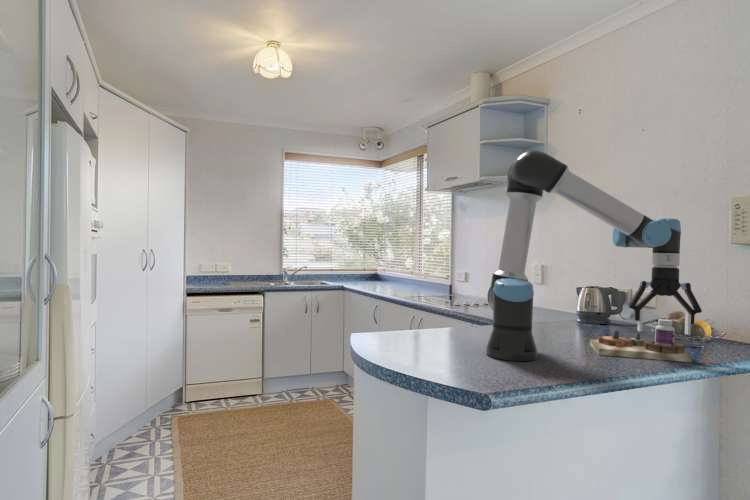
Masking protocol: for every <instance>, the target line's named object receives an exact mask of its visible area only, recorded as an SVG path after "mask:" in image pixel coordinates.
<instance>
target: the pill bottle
mask: <svg viewBox="0 0 750 500" xmlns="http://www.w3.org/2000/svg"><path fill="white" fill-rule="evenodd" d="M657 323H658V325H656V326H655V329H654V340H655V344H658V345H664V346H674V343H675V337H676V336H675V333H676V331H675V327H674V326H673V320H672V319H664V318H659V319H658V320H657Z"/></svg>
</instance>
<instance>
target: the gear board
mask: <svg viewBox="0 0 750 500" xmlns="http://www.w3.org/2000/svg"><path fill="white" fill-rule="evenodd" d="M619 333H620V331H619V330H617V329H616V330H614V329H613V330H612V335H608V336H606V335H599V336H598V337H597V338H598V339H592V338H591V339H590V340H589V345H590V347H591V348H592V349H593V350H594V352H596V353H597V354H598V355H599V356H610V357H620V358H621V357H623V358H633V359H634V358H635V359H645V360H659V361H670V362H671V361H673V362H681V363H683V362H684V363H693V355H692V354H690V353H688V352H686V351H685V350H686V349H685V347H686V346H685V345H683V344H681V343H677V342H674V346H664V345H658V344H655V339H651V340H647V339H646V338H641V334H640V333H635V335H634V337H625V336H624V337H623V336H621V337H620V336H619Z"/></svg>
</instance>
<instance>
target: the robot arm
mask: <svg viewBox="0 0 750 500" xmlns="http://www.w3.org/2000/svg"><path fill="white" fill-rule="evenodd" d="M506 178H507V185H506V186H507V187H506V197H508V199H509V203H508V210H507V216H506V222H505V226H504V227H505V228H504V233H503V237H502V239H503V240H502V244H501V245H502V246H501V249H500V250H501V251H500V257H499V263H498V268H497V269H496V270H495V271H493V273H492V276H491V282H490V287H489V288H488V291H487V302H488V305H489V307H490V309H491V310H492V313H493V315H492V331H491V334H490V337H489V340H488V342H487V345H486V351H485V353H486V355H487V356H488V357H490V358H495V359H498V360H503V361H512V362H529V361H530V362H531V361H536V360H537V359H538V353H539V352H538V348H537V345H536V341H535V338H534V334H533V313H534V312H533V309H534V307H533V306H534V294H535V292H534V285H533V284H532V282H530V281H529V278H528V277H527V276H526V273H525V272H526V267H527V260H528V255H529V249H530V242H531V236H532V231H533V226H534V225H533V224H534V218H535V212H536V207H537V203H538V202H539V201H541V200H542V199H543V193H544V191H545V192H547V193H548V194H553V193H554V194H556V195H558V196H560V197H562V198H563V199H565V200H567V202H568V201H569V202H570V203H571V204H574V206H576V207H579V208H580V209H582V210H584V211H586V212H587V213H589V215H592V216H594V217H596V218H597V219H599V220H601V221H602V222H604V223H606V224H607V225H609V226H611V227H612V228H613V230H612V242H613V244H614V246H615V247H618V248H620V247H621V248H642V249H643V248H645V249H652V251H651V252H652V253H651V254H652V255H651V257H652V258H651V259H652V260H651V265H652V267H651V280H650V281H646V280H641V281H640V282H639V287H638V289H637V290H636V292H635V294H634V295H633V296H632V298H631V300H630V301H629V304H628V308H629V309H632V310H633V311H634V317H633V318H634V321H636V322H637V325H636V326H637V329H636V330H637V331H638V332H639V333H640V332H643V320H644V319H643V318H644V317H643V315H644V312H643V311H642V309H643V308H644V307H645V306H646V305H647V304H649V302H650V301H651V300H652V299H653V298H655V297H656V296H660V297H661V296H662V297H664V296H665V297H666V296H667V297H674V298H675V299H676V301H677V302H679V304H680V305H681V306H682V307H683V308H684V309H685V310H686V312H687V313H685V315H684V335H687V336H691V332H692V331H691V329H692V326H691V325H695V315H696V314H701V313H702V312H703V311H702V308H701V307H700V304H699V302H698V300H697V299H696V296H695V295H694V293H693V291H692V285H691V283H690V282H684V283H681V282H680V269H679V267H678V266H680V262H681V261H680V257H681V256H680V253H681V235H682V230H681V229H682V228H681V221H680V220H679V219H678V218H655V219H652V218H651V217H649V216H647V215H645V214H643V213H641V212H640V211H638V210H636V209H635V208H633V207H631V206H629V205H627V204H626V203H624V202H623V201H621V200H619V199H618V198H616V197H615V196H612V195H611V194H609V193H607V192H605V191H604V190H603V189H600V188H599V187H597V186H595V185H594V184H592V183H591V182H589V181H587V180H585V179H583V178H582V177H580V176H578V175H576V174H575V173H573V172H572V171H570V168H569V166H568V165H566V164H565V163H563V162H562V161H560V160H558V159H556V158H555V157H554V156H551V155H550V154H547V153H546V152H544V151H541V150H535V149H534V150H533V149H532V150H528V151H525V152H523V153H522V154H520V155H519V156H518V157H517V158H516V160H515V161H514V162H513V163H512V164H511V166H509V169H508V171H507V177H506ZM648 287H650V288H651V290H650V291H649V292H648V294H647V295H645V296H644V297H643V299H642V300H641V301H640V299H641V297H642V296H643V295H644V292H645V291H646V289H648ZM679 289H682V290H684V293H685V295H686V297H687V299H688V301H689V303H690V304H689V303H688V302H687V301H686V300H685V299H684V297H682V294H680V293H679V291H678V290H679ZM638 302H639V303H638Z"/></svg>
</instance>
